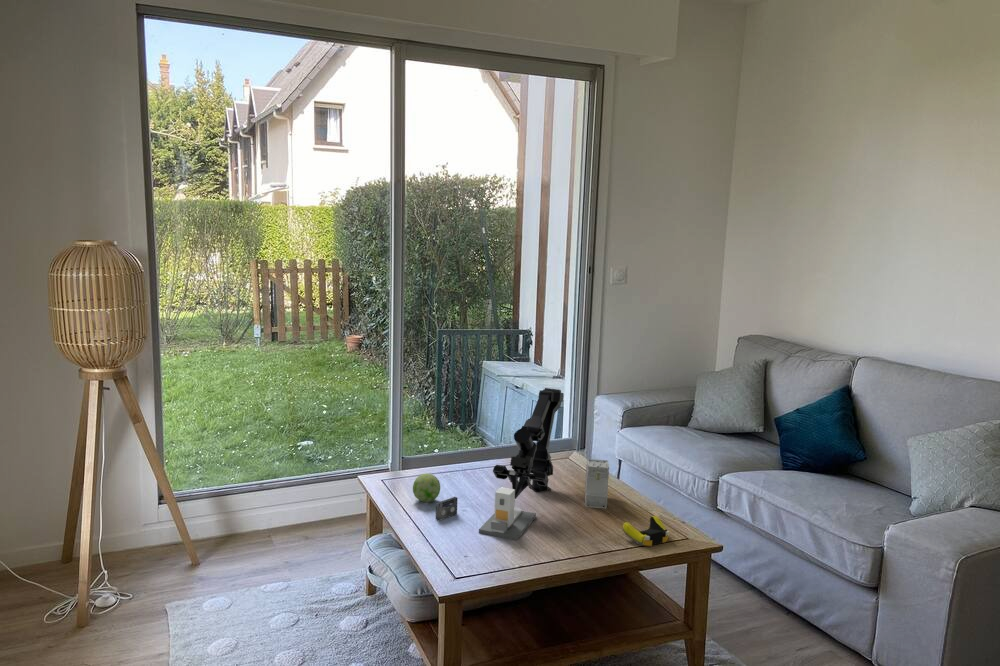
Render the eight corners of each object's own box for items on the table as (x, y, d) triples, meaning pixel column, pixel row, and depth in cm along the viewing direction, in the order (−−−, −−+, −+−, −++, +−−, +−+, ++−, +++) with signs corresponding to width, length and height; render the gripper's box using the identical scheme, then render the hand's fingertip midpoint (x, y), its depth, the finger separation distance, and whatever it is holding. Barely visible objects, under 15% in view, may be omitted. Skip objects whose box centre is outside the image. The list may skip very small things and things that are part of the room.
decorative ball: (443, 504, 253) (444, 477, 251) (416, 508, 249) (416, 480, 248) (435, 494, 262) (436, 468, 260) (409, 497, 258) (409, 471, 257)
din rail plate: (500, 510, 250) (500, 498, 249) (535, 516, 246) (536, 504, 245) (478, 532, 231) (479, 519, 231) (517, 540, 227) (517, 526, 226)
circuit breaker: (604, 493, 269) (607, 454, 266) (606, 508, 255) (609, 467, 252) (584, 492, 269) (586, 453, 267) (585, 506, 255) (587, 466, 253)
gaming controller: (619, 538, 231) (639, 550, 223) (620, 521, 231) (641, 534, 222) (654, 529, 239) (675, 541, 231) (655, 513, 238) (676, 525, 230)
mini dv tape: (454, 512, 247) (454, 496, 246) (457, 514, 245) (457, 497, 245) (435, 519, 241) (436, 502, 240) (438, 520, 240) (438, 503, 239)
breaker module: (499, 520, 237) (500, 487, 236) (513, 523, 236) (515, 489, 234) (493, 527, 232) (494, 493, 230) (507, 530, 230) (509, 495, 229)
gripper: (495, 442, 248) (482, 483, 239) (547, 449, 241) (536, 492, 233) (502, 457, 256) (490, 497, 248) (553, 464, 250) (542, 506, 242)
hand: (514, 498), depth 242 cm, fingers closed
